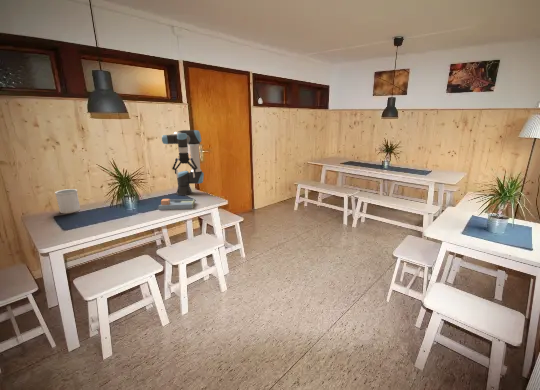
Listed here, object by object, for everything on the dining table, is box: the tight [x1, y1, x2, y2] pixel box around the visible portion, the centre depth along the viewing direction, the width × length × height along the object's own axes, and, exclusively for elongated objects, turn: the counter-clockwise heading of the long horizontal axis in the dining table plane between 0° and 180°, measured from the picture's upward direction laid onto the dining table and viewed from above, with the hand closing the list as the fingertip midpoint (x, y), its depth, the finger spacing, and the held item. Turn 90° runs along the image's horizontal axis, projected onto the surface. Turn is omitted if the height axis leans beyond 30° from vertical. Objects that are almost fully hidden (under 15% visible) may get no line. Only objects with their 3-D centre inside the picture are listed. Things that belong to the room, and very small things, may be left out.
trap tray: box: [158, 198, 196, 211], centre depth 233 cm, size 16×28×4 cm, turn 97°
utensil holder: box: [54, 188, 81, 214], centre depth 219 cm, size 15×15×18 cm
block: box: [160, 198, 171, 205], centre depth 231 cm, size 6×6×4 cm
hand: (185, 177), depth 221 cm, fingers open, 13 cm apart
